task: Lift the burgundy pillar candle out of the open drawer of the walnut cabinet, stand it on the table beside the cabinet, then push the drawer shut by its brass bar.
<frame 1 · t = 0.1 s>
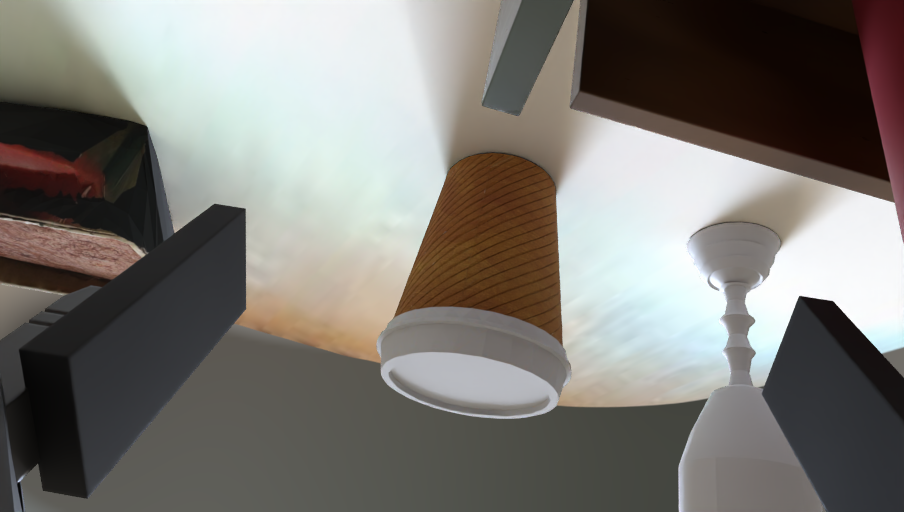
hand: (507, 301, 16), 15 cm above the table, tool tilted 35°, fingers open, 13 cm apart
disposable coffee cup: (500, 185, 37), on the table
baking dish: (84, 164, 43), on the table
chalice: (732, 243, 39), on the table
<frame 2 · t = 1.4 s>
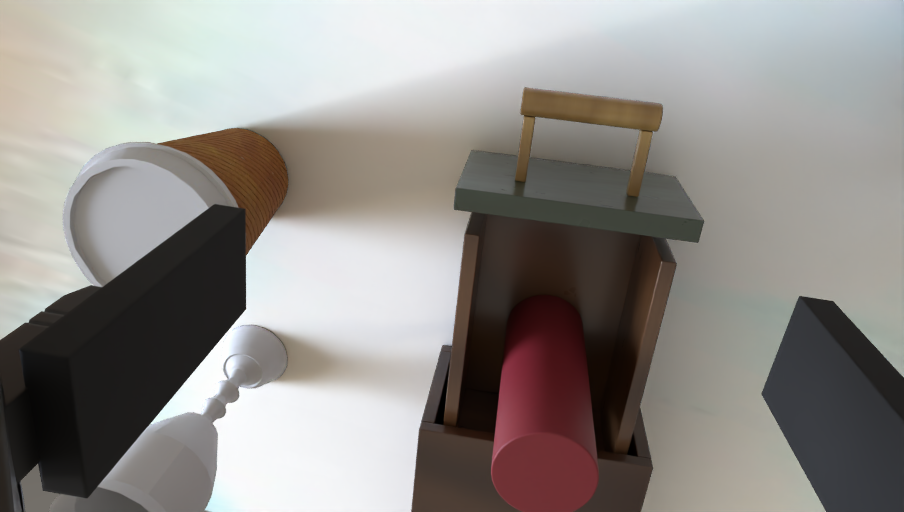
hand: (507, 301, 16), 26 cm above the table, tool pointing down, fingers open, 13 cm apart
disposable coffee cup: (244, 173, 44), on the table
drawer: (556, 282, 39), point 5 cm above the table, slide at 13.5 cm, touching candle
cabinet: (518, 461, 50), on the table
candle: (544, 328, 43), point 2 cm above the table, touching drawer
chalice: (256, 353, 50), on the table
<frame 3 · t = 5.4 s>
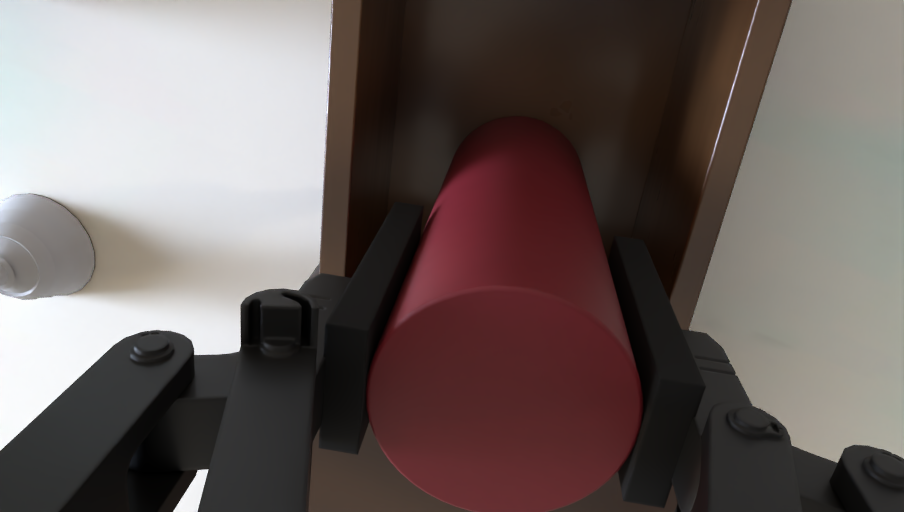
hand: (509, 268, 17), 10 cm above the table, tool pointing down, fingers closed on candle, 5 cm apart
drawer: (538, 63, 20), point 5 cm above the table, slide at 13.5 cm, touching candle
cabinet: (471, 426, 32), on the table
candle: (515, 182, 25), point 2 cm above the table, touching drawer, gripper
chalice: (44, 244, 30), on the table
when the fingers open (8 cm above the table, at t = 12.8 s): candle stays where it is, on the table.
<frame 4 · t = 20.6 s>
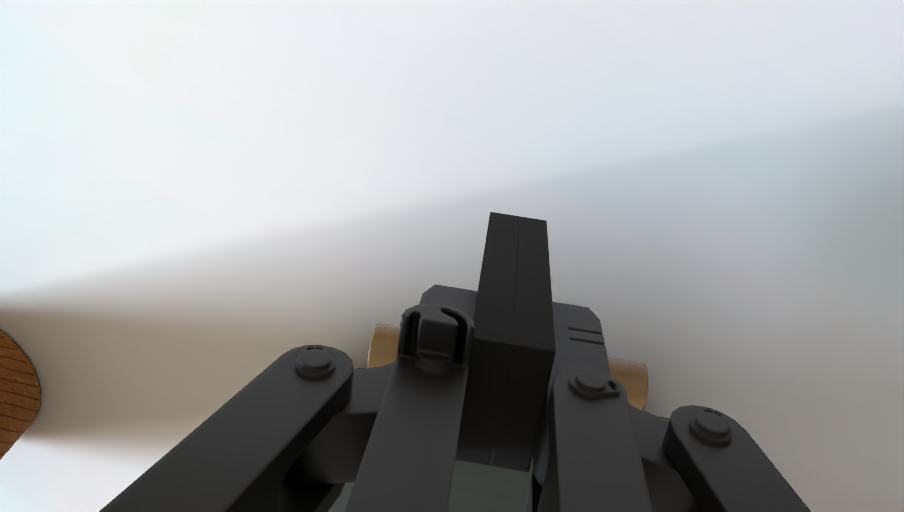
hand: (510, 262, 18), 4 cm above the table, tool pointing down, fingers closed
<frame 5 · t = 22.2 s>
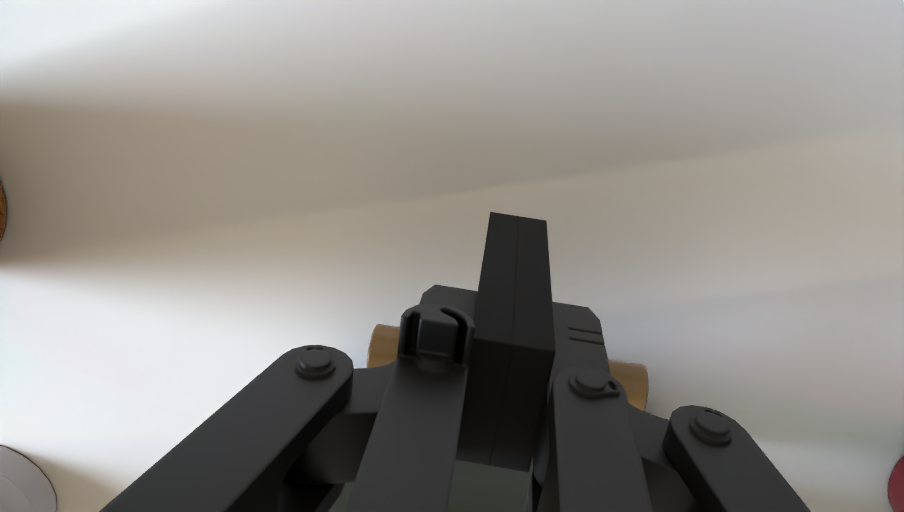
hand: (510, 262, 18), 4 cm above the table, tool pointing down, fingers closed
chalice: (5, 485, 30), on the table
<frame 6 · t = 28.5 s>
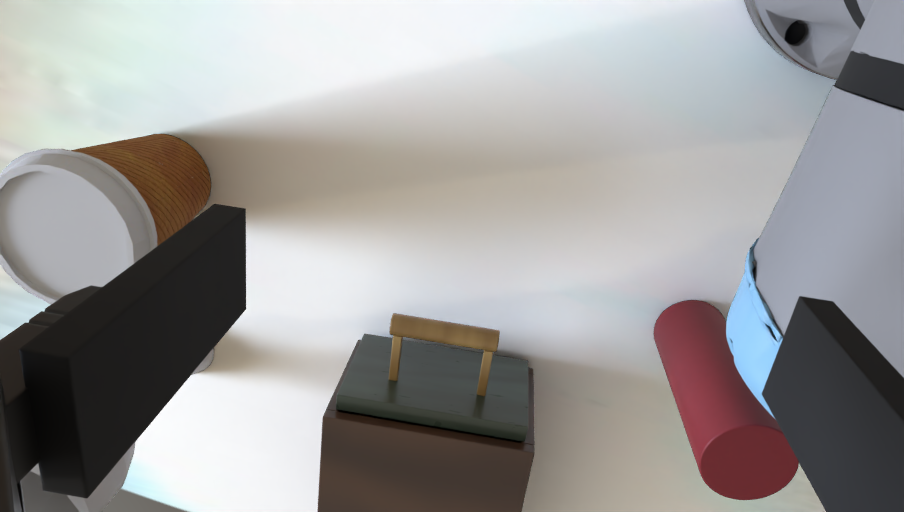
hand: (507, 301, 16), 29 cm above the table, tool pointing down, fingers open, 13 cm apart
disposable coffee cup: (170, 176, 47), on the table
drawer: (429, 447, 48), point 5 cm above the table, slide at 0.0 cm, touching cabinet
cabinet: (431, 449, 54), on the table
candle: (689, 330, 47), on the table
chalice: (184, 345, 53), on the table
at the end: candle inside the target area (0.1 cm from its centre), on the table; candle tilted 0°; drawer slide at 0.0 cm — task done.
